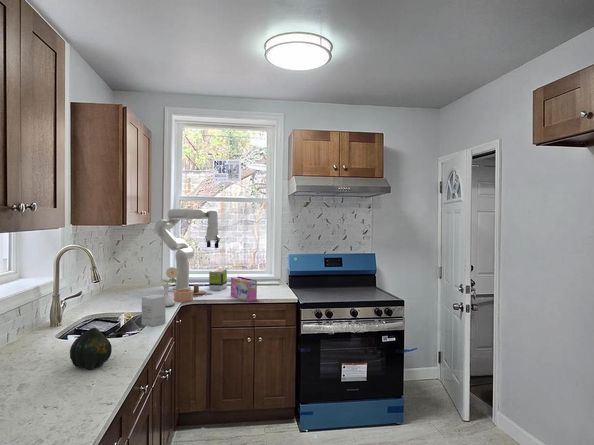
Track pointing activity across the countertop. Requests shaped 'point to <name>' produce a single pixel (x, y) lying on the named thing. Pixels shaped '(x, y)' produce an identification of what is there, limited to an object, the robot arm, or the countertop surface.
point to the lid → (198, 291)
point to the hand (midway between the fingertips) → (212, 247)
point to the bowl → (183, 295)
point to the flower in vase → (171, 274)
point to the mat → (202, 295)
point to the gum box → (244, 288)
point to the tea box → (217, 279)
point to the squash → (90, 349)
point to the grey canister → (153, 310)
